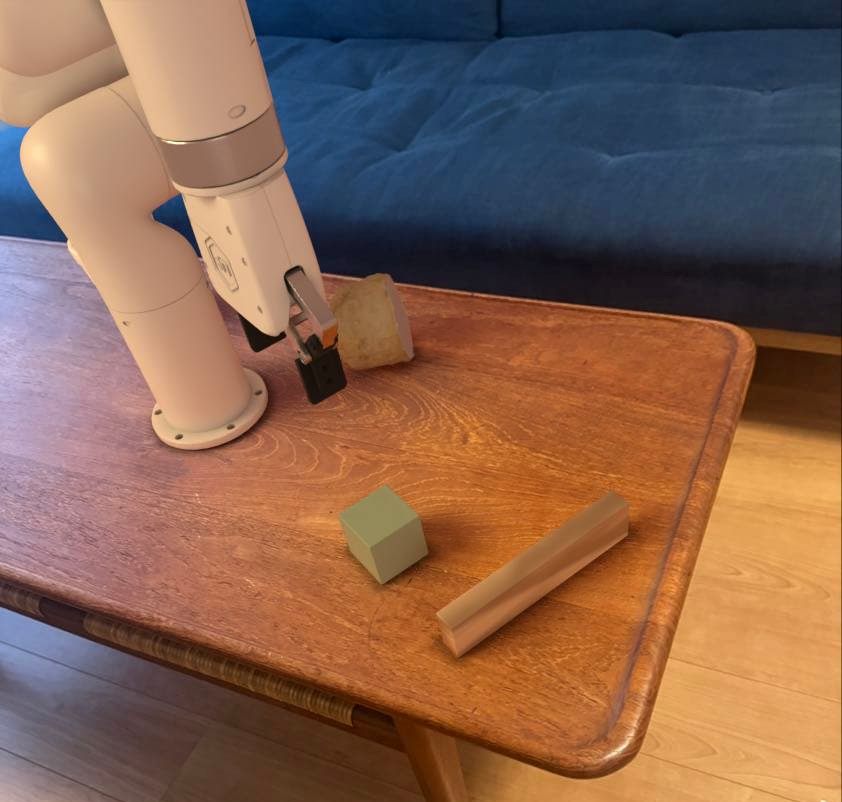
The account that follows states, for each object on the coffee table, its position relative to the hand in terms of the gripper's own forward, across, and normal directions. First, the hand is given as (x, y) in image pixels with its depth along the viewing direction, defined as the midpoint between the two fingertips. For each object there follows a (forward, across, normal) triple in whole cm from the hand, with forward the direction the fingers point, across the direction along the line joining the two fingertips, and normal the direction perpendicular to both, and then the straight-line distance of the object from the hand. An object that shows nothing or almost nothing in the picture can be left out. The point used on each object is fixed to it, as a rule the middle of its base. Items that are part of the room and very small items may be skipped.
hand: (298, 367), depth 64 cm
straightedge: (+16, +19, +7) cm, 26 cm away
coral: (+16, -16, +15) cm, 28 cm away
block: (+16, +8, 0) cm, 18 cm away
